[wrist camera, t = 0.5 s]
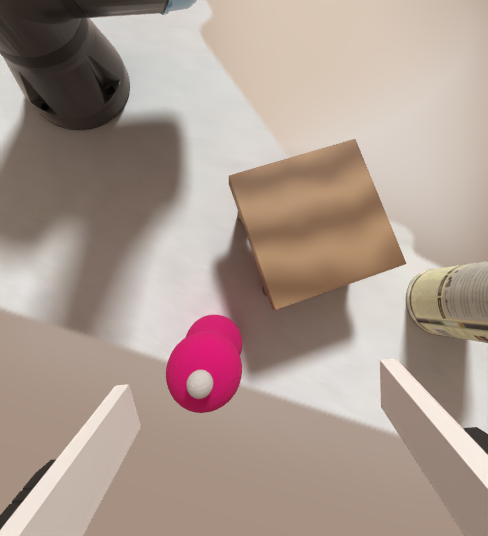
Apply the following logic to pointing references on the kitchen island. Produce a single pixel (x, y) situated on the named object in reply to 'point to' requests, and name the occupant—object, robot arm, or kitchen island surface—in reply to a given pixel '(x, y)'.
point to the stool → (314, 223)
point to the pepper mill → (206, 365)
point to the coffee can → (451, 301)
